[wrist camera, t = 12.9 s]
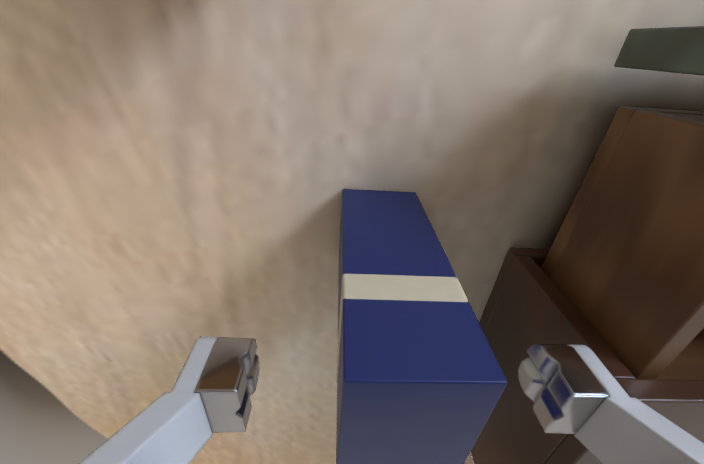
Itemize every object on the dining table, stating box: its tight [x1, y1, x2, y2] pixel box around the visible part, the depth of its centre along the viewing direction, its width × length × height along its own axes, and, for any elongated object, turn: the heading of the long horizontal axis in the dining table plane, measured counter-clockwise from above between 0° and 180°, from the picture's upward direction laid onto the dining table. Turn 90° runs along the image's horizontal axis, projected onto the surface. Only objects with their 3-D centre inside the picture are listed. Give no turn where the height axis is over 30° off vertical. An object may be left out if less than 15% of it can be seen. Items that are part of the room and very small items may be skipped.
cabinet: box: [471, 248, 704, 464], centre depth 17 cm, size 14×13×9 cm
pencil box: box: [336, 189, 507, 464], centre depth 12 cm, size 4×4×10 cm
